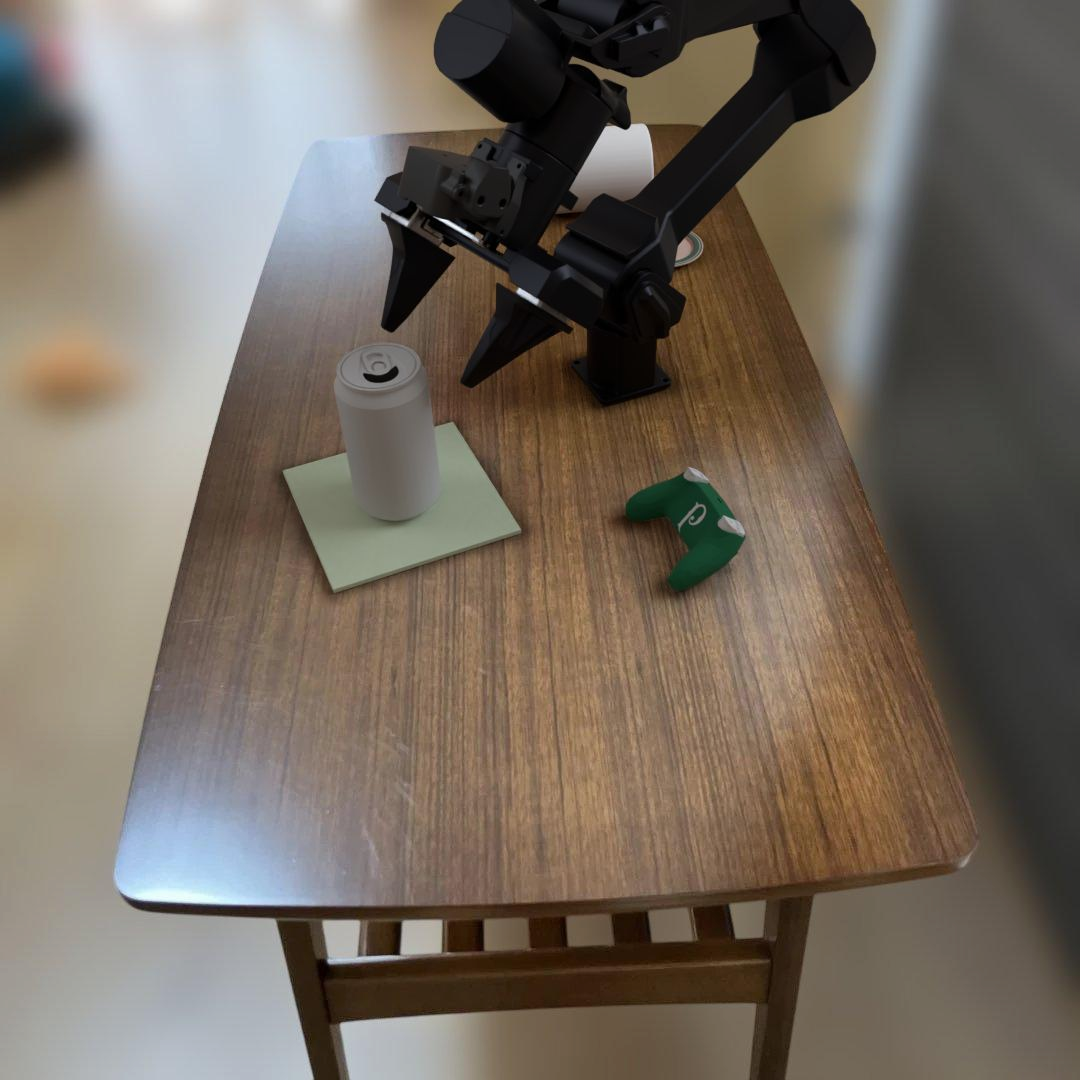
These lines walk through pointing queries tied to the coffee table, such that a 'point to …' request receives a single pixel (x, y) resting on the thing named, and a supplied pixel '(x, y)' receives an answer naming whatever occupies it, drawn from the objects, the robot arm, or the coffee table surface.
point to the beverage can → (388, 430)
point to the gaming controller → (691, 524)
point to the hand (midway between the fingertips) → (424, 357)
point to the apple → (689, 249)
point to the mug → (615, 167)
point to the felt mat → (394, 546)
